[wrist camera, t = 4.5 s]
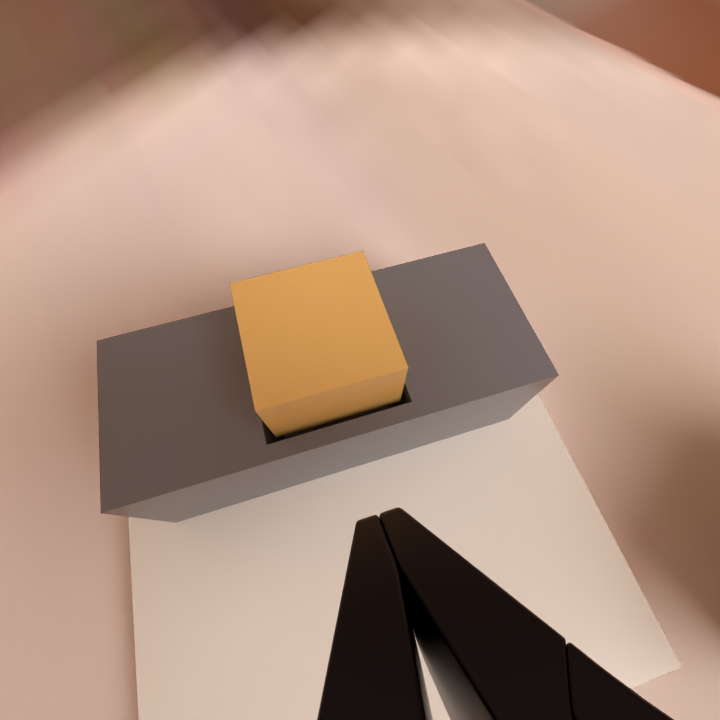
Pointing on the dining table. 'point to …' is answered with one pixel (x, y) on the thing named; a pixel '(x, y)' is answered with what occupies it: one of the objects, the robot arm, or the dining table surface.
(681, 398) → the dining table surface
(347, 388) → the amber key
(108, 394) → the grey block on base
